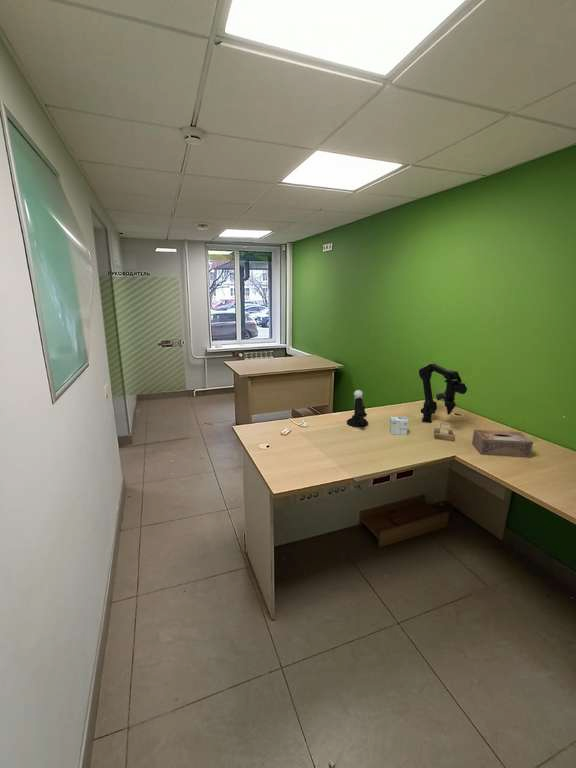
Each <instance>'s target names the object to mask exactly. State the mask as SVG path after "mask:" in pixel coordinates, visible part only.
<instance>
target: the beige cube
mask: <svg viewBox="0 0 576 768" xmlns="http://www.w3.org/2000/svg"><path fill="white" fill-rule="evenodd" d="M439 429H440V433H441V434H448V433H449V430H450V423H449V422H443V421H440V423H439Z"/></svg>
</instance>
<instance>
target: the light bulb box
mask: <svg viewBox="0 0 576 768" xmlns="http://www.w3.org/2000/svg"><path fill="white" fill-rule="evenodd" d="M389 418H390V419H389V420H390V421H389V434H390V435H392V436H407V435H408V428H409V427H408V426H409V419H408V418H407V416H390V417H389Z"/></svg>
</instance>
